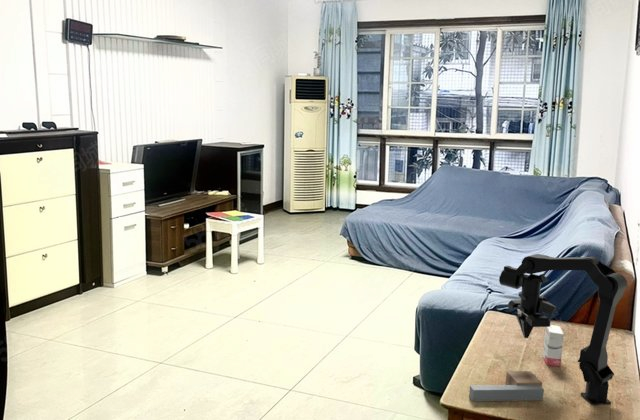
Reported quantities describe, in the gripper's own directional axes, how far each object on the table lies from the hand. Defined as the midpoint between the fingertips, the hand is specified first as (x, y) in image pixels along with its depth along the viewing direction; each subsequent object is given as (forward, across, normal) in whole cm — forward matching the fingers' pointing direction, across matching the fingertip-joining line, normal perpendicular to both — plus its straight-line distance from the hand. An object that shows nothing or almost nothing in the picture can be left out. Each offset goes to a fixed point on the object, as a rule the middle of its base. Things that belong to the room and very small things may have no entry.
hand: (526, 337), depth 201 cm
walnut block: (+12, -13, +6) cm, 19 cm away
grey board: (+12, -18, +14) cm, 26 cm away
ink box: (+12, +8, -14) cm, 20 cm away
